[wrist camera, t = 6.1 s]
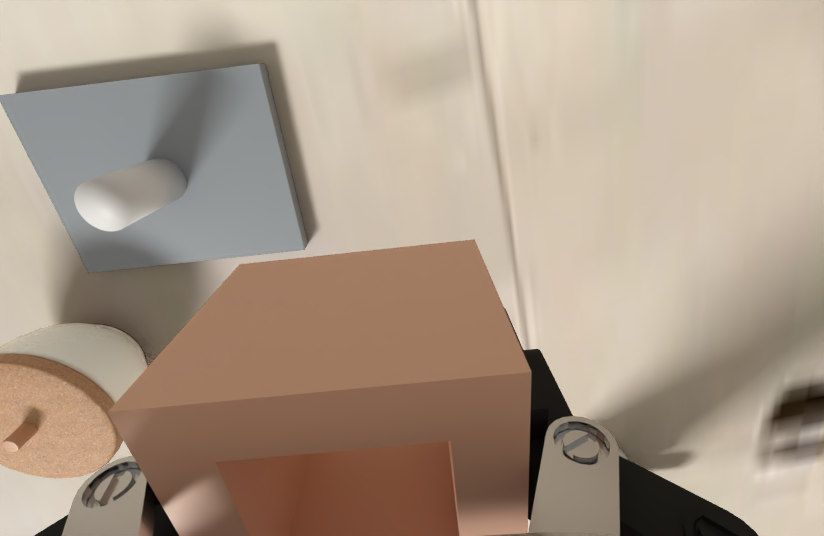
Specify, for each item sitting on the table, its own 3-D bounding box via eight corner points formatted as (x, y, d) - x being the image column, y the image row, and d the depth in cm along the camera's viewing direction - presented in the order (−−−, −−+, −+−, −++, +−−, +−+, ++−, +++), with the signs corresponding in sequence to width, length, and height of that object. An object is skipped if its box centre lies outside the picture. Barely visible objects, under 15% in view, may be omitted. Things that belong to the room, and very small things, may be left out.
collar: (474, 239, 11) (532, 372, 6) (482, 416, 14) (525, 606, 9) (239, 264, 11) (107, 411, 6) (294, 433, 14) (233, 628, 9)
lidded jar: (17, 298, 31) (-125, 380, 23) (156, 299, 32) (65, 381, 23) (66, 401, 36) (-38, 501, 28) (186, 401, 36) (120, 500, 28)
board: (265, 64, 25) (215, 59, 18) (308, 243, 30) (281, 290, 23) (14, 94, 25) (-122, 101, 19) (100, 266, 30) (17, 318, 24)
